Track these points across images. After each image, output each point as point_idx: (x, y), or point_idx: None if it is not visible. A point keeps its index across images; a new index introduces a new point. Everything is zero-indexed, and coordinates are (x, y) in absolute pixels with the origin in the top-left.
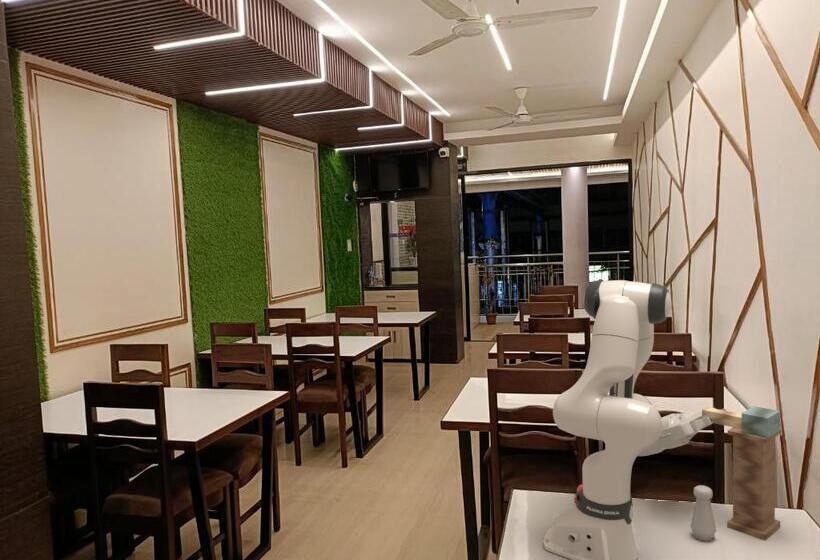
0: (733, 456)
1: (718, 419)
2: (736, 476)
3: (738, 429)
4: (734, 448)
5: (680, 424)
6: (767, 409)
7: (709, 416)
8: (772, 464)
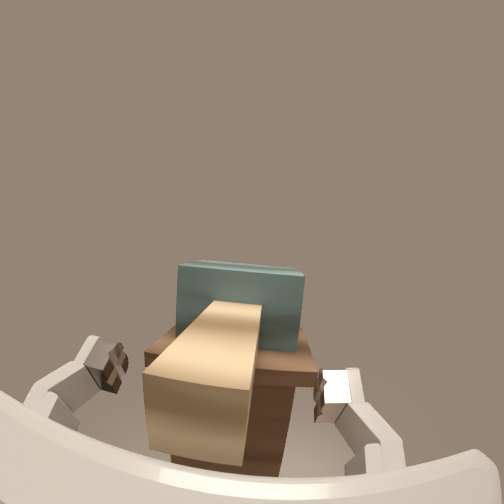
0: (283, 449)
1: (253, 377)
2: None
3: (270, 358)
4: (288, 423)
5: (491, 461)
6: (199, 262)
7: (324, 368)
8: None
